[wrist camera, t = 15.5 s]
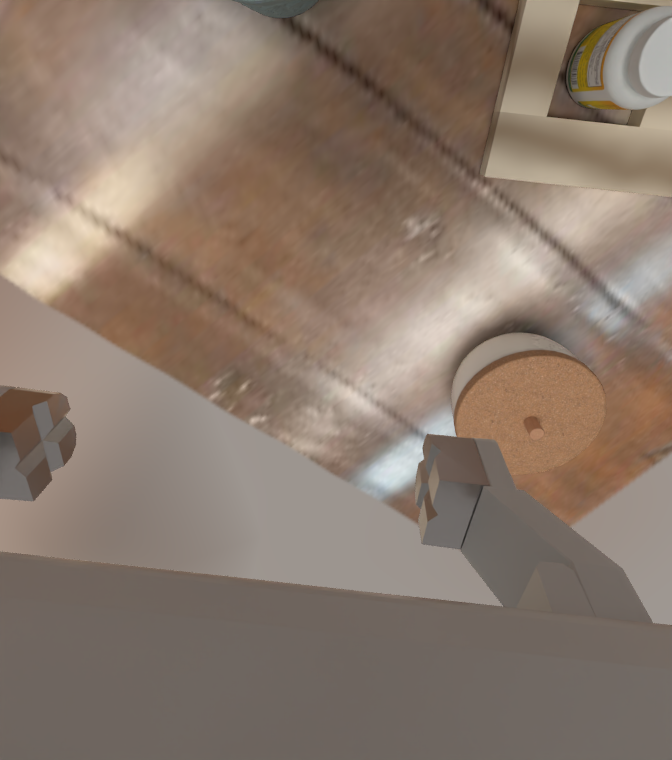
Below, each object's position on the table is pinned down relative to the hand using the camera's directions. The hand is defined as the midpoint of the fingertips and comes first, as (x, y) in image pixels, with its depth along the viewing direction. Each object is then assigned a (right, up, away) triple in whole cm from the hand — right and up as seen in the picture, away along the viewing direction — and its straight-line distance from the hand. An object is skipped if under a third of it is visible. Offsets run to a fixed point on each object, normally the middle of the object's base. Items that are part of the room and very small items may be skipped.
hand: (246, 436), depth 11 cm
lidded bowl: (+19, +2, +37) cm, 42 cm away
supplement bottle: (+22, +25, +24) cm, 41 cm away
